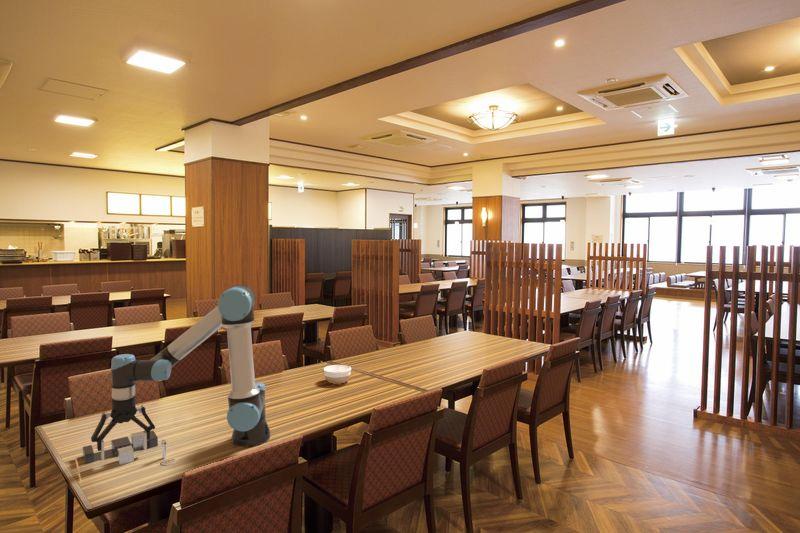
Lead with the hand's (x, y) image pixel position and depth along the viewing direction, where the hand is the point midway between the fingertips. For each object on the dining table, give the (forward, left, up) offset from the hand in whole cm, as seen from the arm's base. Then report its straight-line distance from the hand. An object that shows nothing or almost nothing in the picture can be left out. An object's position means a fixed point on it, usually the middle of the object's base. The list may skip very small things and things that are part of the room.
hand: (124, 453), depth 171 cm
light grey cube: (+10, -6, -3) cm, 12 cm away
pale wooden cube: (0, 0, -3) cm, 3 cm away
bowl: (+35, -112, -4) cm, 118 cm away
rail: (+10, 0, -3) cm, 11 cm away
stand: (-8, -12, -4) cm, 15 cm away
